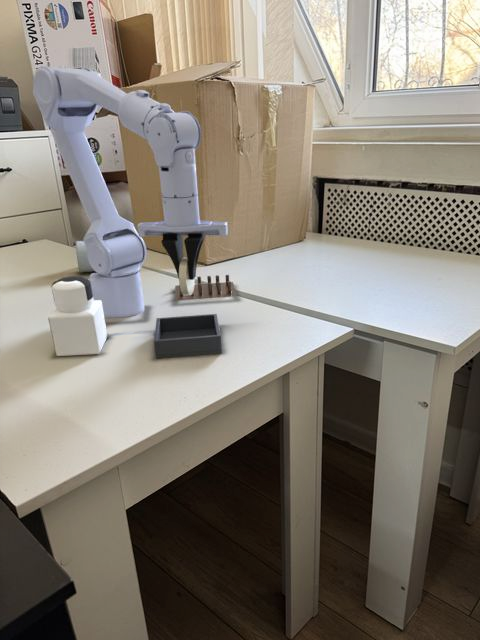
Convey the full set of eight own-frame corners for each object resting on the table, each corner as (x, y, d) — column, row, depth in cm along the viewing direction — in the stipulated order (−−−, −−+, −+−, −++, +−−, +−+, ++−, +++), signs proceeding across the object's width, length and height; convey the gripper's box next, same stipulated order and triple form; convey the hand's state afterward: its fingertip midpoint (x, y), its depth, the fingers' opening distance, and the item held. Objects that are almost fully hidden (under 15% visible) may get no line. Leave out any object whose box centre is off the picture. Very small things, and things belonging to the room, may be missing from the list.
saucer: (181, 300, 85) (177, 263, 82) (189, 288, 91) (186, 253, 88) (188, 300, 85) (184, 263, 82) (196, 288, 91) (193, 253, 88)
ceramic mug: (113, 272, 127) (109, 242, 123) (79, 275, 125) (74, 245, 121) (112, 262, 136) (107, 233, 132) (79, 265, 133) (74, 236, 130)
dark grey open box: (156, 358, 82) (153, 341, 81) (158, 334, 91) (156, 318, 90) (221, 353, 83) (220, 336, 82) (217, 329, 93) (216, 313, 91)
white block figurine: (67, 339, 90) (53, 274, 85) (108, 337, 90) (97, 272, 85) (55, 357, 84) (40, 287, 78) (99, 354, 84) (87, 285, 79)
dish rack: (175, 304, 105) (173, 289, 104) (175, 289, 114) (174, 275, 113) (237, 300, 107) (236, 285, 105) (233, 286, 116) (232, 271, 114)
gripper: (228, 191, 84) (232, 271, 89) (143, 192, 85) (152, 271, 91) (221, 198, 77) (226, 283, 83) (129, 199, 79) (140, 283, 84)
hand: (187, 278), depth 86 cm, fingers closed on saucer, 1 cm apart
